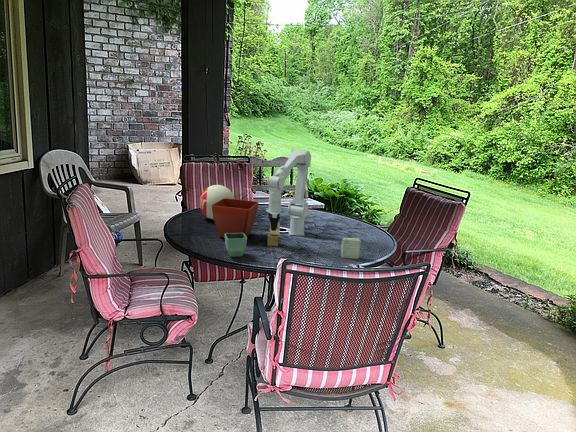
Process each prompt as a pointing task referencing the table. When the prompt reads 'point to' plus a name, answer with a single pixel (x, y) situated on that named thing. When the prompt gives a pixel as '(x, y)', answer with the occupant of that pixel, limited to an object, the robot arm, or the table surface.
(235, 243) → the flower pot
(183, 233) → the table surface
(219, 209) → the plant pot
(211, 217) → the decorative sphere
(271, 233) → the oak block
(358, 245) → the medicine box
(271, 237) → the tan wooden cube
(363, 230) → the table surface
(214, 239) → the table surface
